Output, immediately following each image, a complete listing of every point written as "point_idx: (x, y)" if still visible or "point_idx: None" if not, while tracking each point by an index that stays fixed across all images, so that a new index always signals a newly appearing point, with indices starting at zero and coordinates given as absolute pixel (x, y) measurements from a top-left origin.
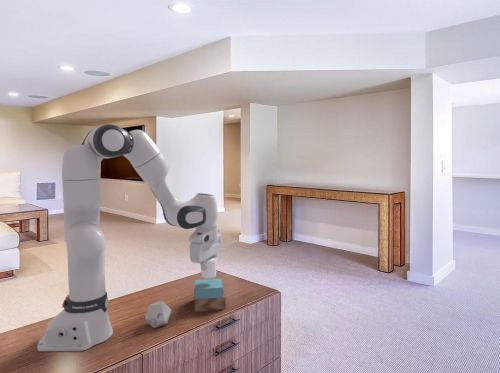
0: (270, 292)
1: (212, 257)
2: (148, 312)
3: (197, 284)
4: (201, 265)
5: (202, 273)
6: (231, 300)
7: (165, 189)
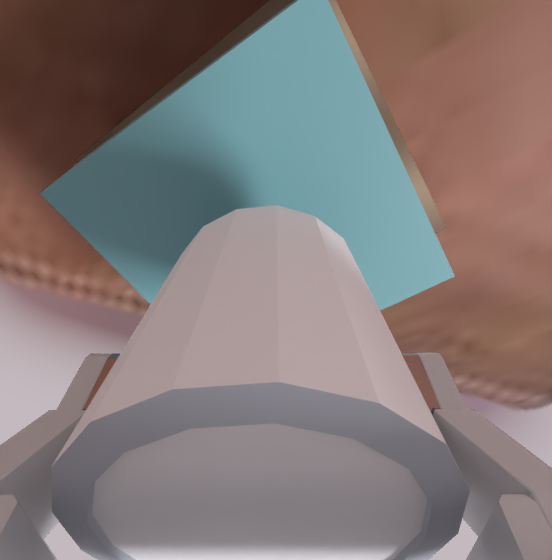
0: (531, 392)
1: (418, 536)
2: None
3: (185, 135)
4: (41, 428)
5: (161, 287)
6: None
7: None
